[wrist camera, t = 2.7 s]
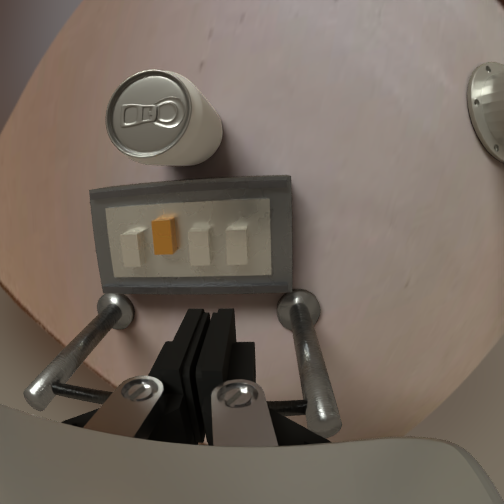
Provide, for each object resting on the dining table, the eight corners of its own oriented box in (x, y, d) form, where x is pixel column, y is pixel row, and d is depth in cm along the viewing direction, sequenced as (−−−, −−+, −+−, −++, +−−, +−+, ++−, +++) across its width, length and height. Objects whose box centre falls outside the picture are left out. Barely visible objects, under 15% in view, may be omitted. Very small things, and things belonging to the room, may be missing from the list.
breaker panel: (287, 175, 29) (293, 176, 24) (288, 277, 32) (294, 300, 26) (108, 186, 30) (79, 191, 24) (119, 279, 32) (95, 300, 27)
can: (222, 166, 29) (197, 164, 18) (156, 166, 29) (97, 168, 18) (224, 99, 28) (201, 58, 16) (159, 102, 28) (103, 70, 16)
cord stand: (320, 288, 32) (367, 396, 15) (318, 326, 33) (355, 446, 17) (96, 290, 33) (4, 371, 16) (104, 325, 34) (25, 415, 18)
